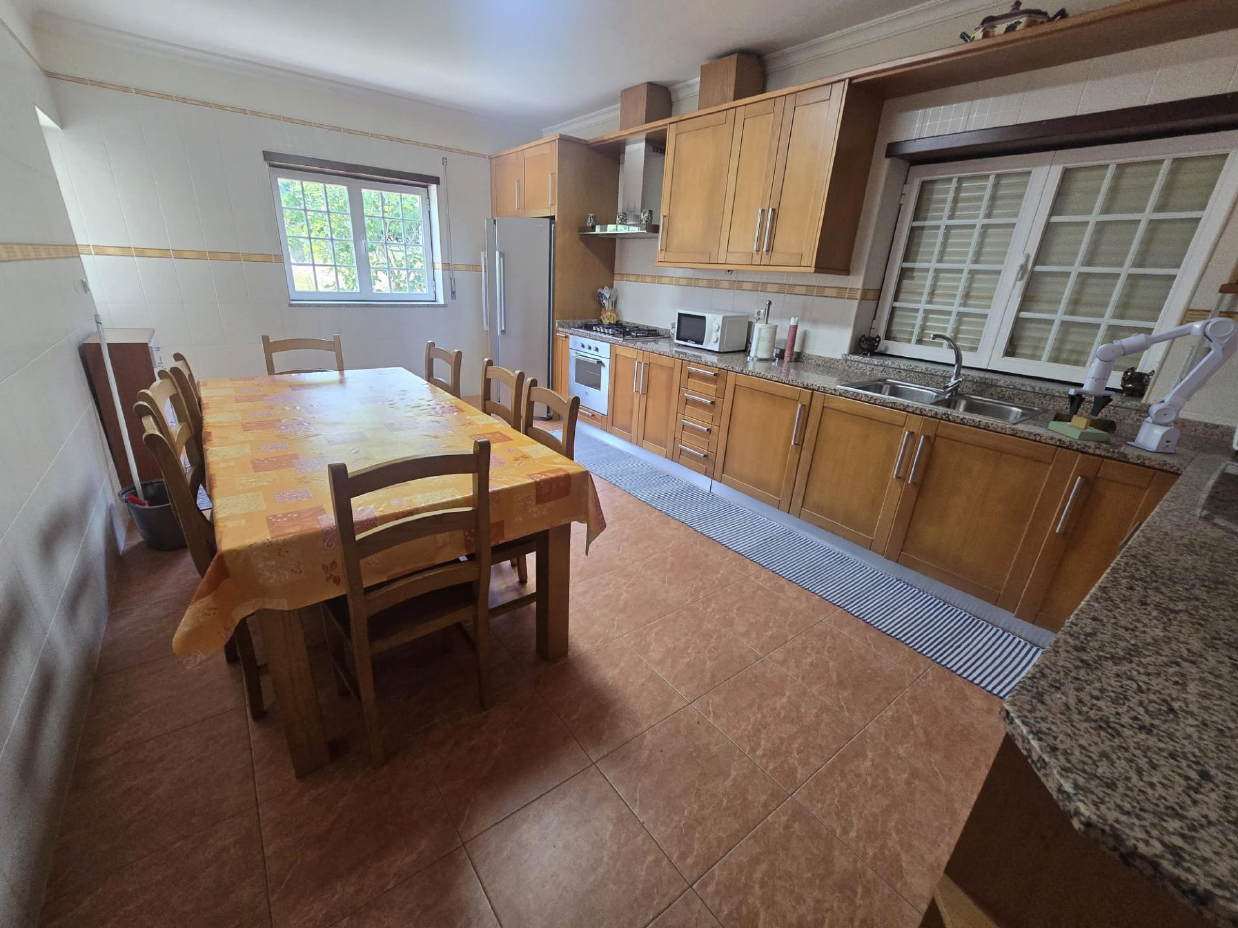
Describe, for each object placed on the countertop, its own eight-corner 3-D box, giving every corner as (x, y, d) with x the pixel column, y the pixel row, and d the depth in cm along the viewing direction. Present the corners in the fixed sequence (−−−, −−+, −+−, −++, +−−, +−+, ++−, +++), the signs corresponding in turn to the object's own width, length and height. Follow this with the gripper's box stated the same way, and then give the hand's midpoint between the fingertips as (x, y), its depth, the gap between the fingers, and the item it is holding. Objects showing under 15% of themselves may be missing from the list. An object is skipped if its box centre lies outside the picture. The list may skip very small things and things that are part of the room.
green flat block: (1106, 441, 179) (1109, 432, 178) (1077, 439, 179) (1080, 431, 178) (1073, 430, 192) (1077, 422, 191) (1047, 428, 192) (1050, 420, 191)
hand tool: (1051, 421, 205) (1055, 410, 203) (1053, 420, 207) (1058, 409, 205) (1112, 433, 191) (1117, 422, 189) (1114, 432, 193) (1119, 420, 192)
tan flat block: (1087, 429, 182) (1091, 419, 180) (1083, 429, 182) (1087, 419, 180) (1073, 424, 187) (1077, 415, 186) (1070, 424, 187) (1073, 414, 186)
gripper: (1108, 377, 182) (1093, 413, 187) (1068, 374, 182) (1054, 411, 187) (1126, 381, 175) (1110, 418, 180) (1084, 378, 176) (1069, 416, 180)
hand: (1083, 415), depth 183 cm, fingers open, 7 cm apart
